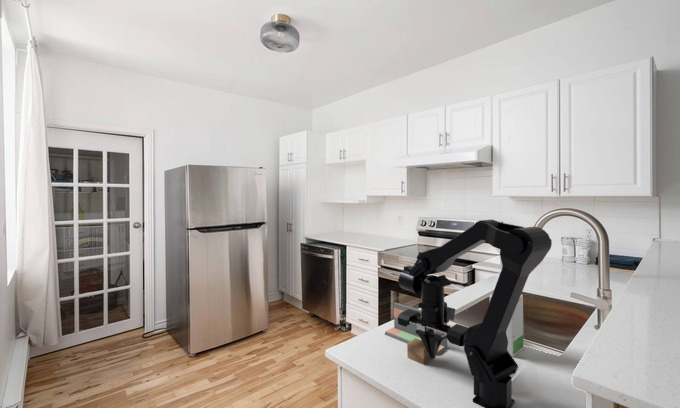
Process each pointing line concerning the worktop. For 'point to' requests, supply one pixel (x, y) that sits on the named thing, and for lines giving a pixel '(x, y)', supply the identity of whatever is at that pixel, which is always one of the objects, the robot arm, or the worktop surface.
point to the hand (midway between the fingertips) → (433, 357)
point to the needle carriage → (417, 351)
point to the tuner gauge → (408, 328)
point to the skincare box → (515, 329)
